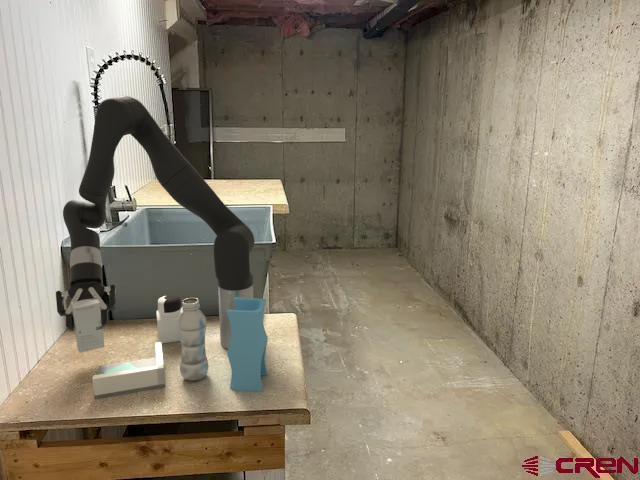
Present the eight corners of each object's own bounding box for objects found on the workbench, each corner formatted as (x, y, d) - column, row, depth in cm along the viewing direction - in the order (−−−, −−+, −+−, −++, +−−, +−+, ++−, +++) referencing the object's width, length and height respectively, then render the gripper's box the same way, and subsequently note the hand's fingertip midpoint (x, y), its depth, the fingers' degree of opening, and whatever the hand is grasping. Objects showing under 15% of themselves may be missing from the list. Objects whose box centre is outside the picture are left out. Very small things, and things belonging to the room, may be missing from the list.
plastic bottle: (178, 372, 117) (173, 297, 111) (206, 367, 120) (202, 293, 114) (182, 386, 111) (177, 308, 106) (211, 380, 114) (207, 304, 108)
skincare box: (79, 353, 117) (72, 308, 113) (76, 346, 120) (69, 302, 117) (106, 347, 120) (99, 302, 116) (102, 339, 123) (96, 296, 120)
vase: (236, 371, 118) (234, 297, 113) (267, 373, 118) (267, 298, 112) (228, 389, 111) (225, 311, 105) (262, 391, 110) (261, 312, 105)
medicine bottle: (183, 329, 139) (181, 291, 136) (186, 340, 133) (183, 300, 130) (158, 332, 137) (154, 294, 134) (159, 344, 130) (155, 304, 127)
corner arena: (162, 359, 123) (161, 341, 122) (165, 386, 111) (163, 367, 110) (99, 368, 118) (97, 350, 117) (95, 398, 106) (92, 379, 105)
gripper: (51, 264, 119) (51, 327, 111) (114, 258, 123) (117, 318, 116) (58, 277, 125) (58, 337, 118) (117, 270, 130) (120, 328, 122)
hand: (87, 327), depth 117 cm, fingers closed on skincare box, 6 cm apart
